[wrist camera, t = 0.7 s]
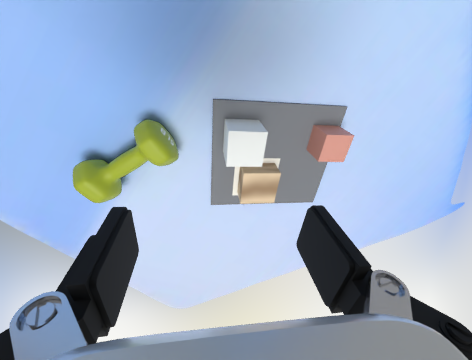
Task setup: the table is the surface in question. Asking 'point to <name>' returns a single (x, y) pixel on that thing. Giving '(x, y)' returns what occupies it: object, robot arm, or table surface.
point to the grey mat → (273, 147)
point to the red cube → (329, 143)
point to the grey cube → (244, 143)
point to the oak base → (258, 183)
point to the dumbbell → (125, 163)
